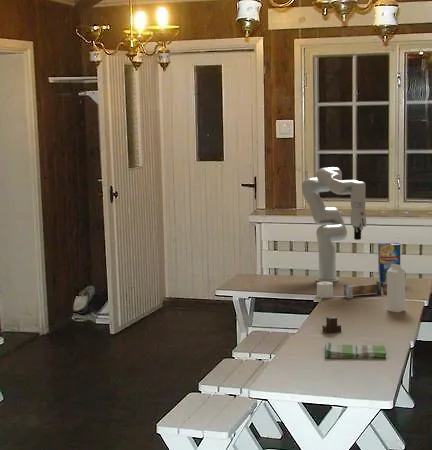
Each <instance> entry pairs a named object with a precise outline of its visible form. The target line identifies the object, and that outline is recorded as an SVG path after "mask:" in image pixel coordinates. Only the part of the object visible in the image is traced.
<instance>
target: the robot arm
mask: <svg viewBox="0 0 432 450" xmlns="http://www.w3.org/2000/svg"><path fill="white" fill-rule="evenodd" d="M342 176H343V173H342V170H341V169H340V168H339V167H337V166H336V167H335V166H331V167H329V166H328V167H321V168H319V169H318V170H316V174H315V177H309V178H307V179H304V180H303V181H302V184H301V193H302V195H303V198H304V200H305V201H306V203H307V205H308V207H309V210H310V214H311V216H312V219H313V221H314V223H315V224H316V225H319V227H317V229H316V239H317V245H318V246H317V247H318V277H316V278H315V279H316V281H317V282H332V283H334V282H335V283H336V282H339V280H340V278H339V277H338V276H337V267H336V265H337V264H336V262H337V261H336V259H337V258H336V255H337V253H336V252H337V251H336V247H335V245H334V244H333V242H335V241H336V242H337V241H343V240H345V239H346V238H347V234H348V231H347V227H346V223H345V222H344V219H343V216H342V213H341V212H340V210H339V209H338V208H337V207H334V206H328V207H327V206H326V205H325V202H324V200H323V198H322V197H321V196H320V195H318V194H317V193H327V192H332V194H333V193H334V194H336V195H339V196H342V195H343V196H344V195H350V210H351V211H350V225H351V226H352V228H353V233H354V234H353V236H354V237H353V239H354V240H355V241H358V240H360V241H361V239H362V231H363V230H364V227H367V214H366V189H367V188H366V182H364V181H359V180H356V179H344V180H343V177H342Z"/></svg>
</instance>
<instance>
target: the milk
mask: <svg viewBox="0 0 432 450" xmlns="http://www.w3.org/2000/svg"><path fill="white" fill-rule="evenodd" d="M386 310H387V311H388V312H392V313H400V312H405V311H406V271H405V270H404V269H403V268H402V265H401V264H400V265H397V264H391V267H390V268H389V269H388V270H387V294H386Z"/></svg>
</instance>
